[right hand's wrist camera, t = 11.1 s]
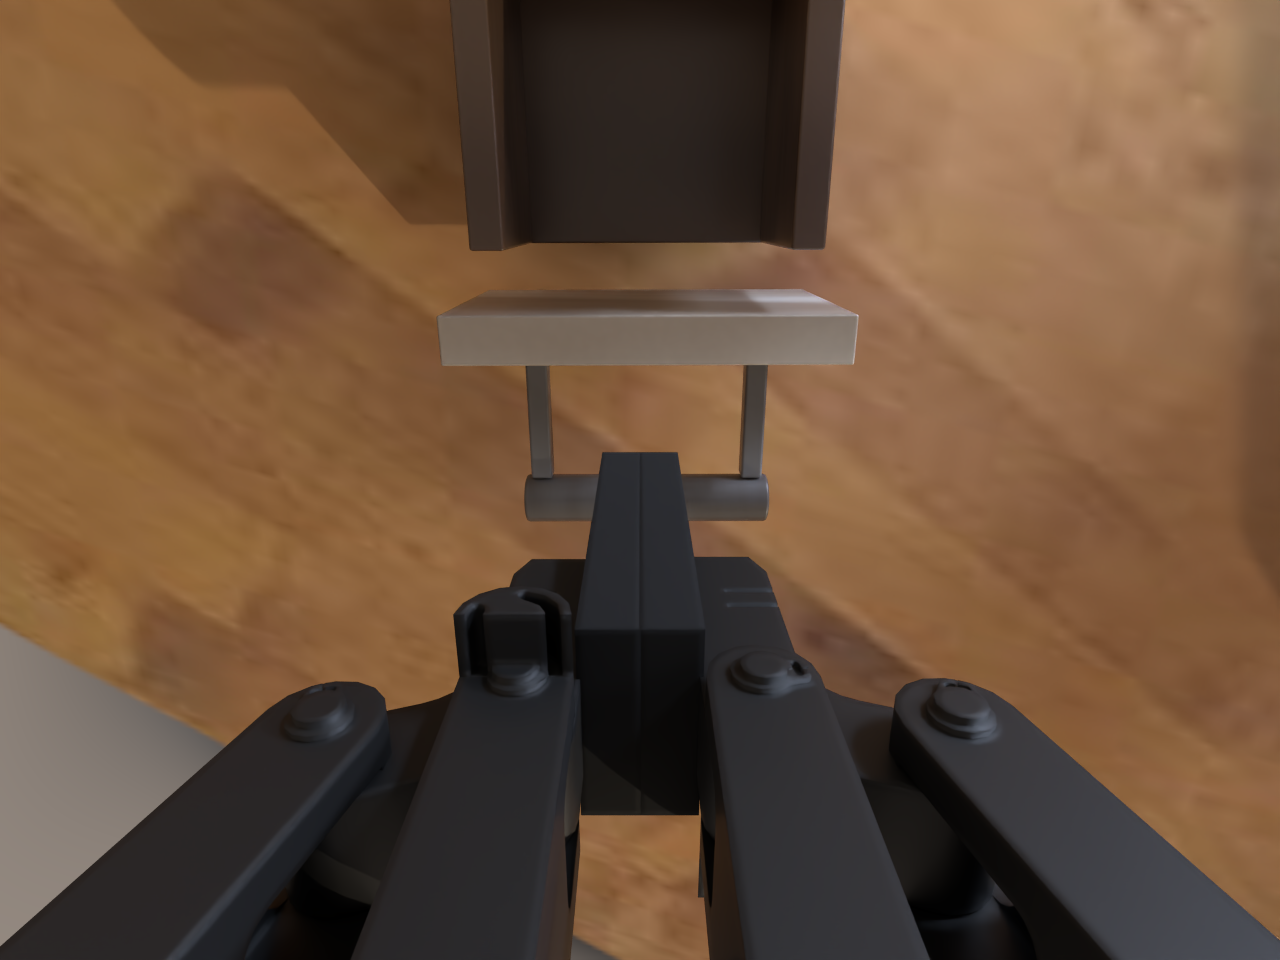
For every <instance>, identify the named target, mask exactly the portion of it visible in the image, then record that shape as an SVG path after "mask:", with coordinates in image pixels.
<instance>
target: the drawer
mask: <svg viewBox="0 0 1280 960" xmlns="http://www.w3.org/2000/svg"><path fill="white" fill-rule="evenodd" d="M450 11H451V23H452V35H453V48H454V60H455V73H456V85H457V98H458V110H459V123H460V135H461V147H462V160H463V172H464V185H465V197H466V210H467V222H468V235H469V247H470V250H472V251H502V250H506V249H510V248H514V247H518V246H521V245H525V244H529V243H718V242H762V243H767V244H771V245H775V246H780V247H784V248H788V249H793V250H822V249H824V248H825V244H826V232H827V220H828V208H829V195H830V183H831V171H832V158H833V146H834V134H835V122H836V109H837V97H838V85H839V73H840V60H841V48H842V36H843V24H844V11H845V0H450ZM437 326H438V336H439V347H440V357H441V364H442V366H526V382H527V400H528V417H529V434H530V451H531V468H532V474H530V475H528V476H527V479H526V482H525V493H524V503H525V513H526V517H527V520H528V521H592V516H593V510H594V503H595V497H596V491H597V484H598V478H599V474H553V473H554V456H553V434H552V413H551V391H550V370H549V366H595V365H744V371H743V393H742V414H741V435H740V456H739V472H740V474H681V478H682V484H683V491H684V497H685V503H686V510H687V516H688V521H764V520H766V518H767V515H768V509H769V486H768V480H767V477H766V475H764V474H761V473H762V456H763V439H764V422H765V405H766V388H767V371H768V365H852V364H854V357H855V347H856V337H857V327H858V315H857V314H855V313H852V312H850V311H848V310H846V309H844V308H842V307H840V306H837V305H835V304H833V303H831V302H829V301H827V300H824V299H822V298H820V297H818V296H816V295H814V294H811V293H809V292H807V291H805V290H803V289H695V290H489V291H487V292H485V293H483V294H481V295H479V296H477V297H475V298H473V299H471V300H469V301H467V302H465V303H463V304H461V305H459V306H457V307H455V308H453V309H451V310H449V311H447V312H445V313H443V314H441V315H439V316H437Z"/></svg>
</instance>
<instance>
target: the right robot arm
mask: <svg viewBox="0 0 1280 960" xmlns="http://www.w3.org/2000/svg"><path fill="white" fill-rule="evenodd" d="M453 617H454V627H455V637H456V646H457V656H458V666H459V676H460V677H459V680H458V682H457V685H456V688H455V690H454V692H453V693H451V694H448V695H446V696H444V697H442V698H439V699H436V700H433V701H429V702H425V703H422V704H418V705H413V706H408V707H403V708H398V709H394V710H389V711H387V710H386V704H385V698H384V697H383V696H382V695H381V694H380V693H379V692H378V691H377V690H376V688H374V687H371V686H368V685H365V684H362V683H359V682H337V681H336V682H330V683H325V684H319V685H314V686H311V687H308V688H306V689H303V690H301V691H298V692H296V693H293V694H291V695H288V696H287V697H285V698H284V699H282V700H281V701H279V702H278V703H276V704H275V705H273V706H272V707H271V708H269V709H268V710H267V711H265V712H264V713H263V714H262V715H261V716H260V717H259V718H258V719H256V720H255V721H254V722H253V723H252V724H251V725H250V726H248V727H247V728H246V729H245V730H244V731H243V732H242V733H241V734H239V735H238V736H237V737H236V738H235V739H234V740H233V741H232V742H230V743H229V744H228V745H227V746H226V747H225V748H224V749H223V750H221V751H220V752H219V753H218V754H217V755H216V756H215V757H214V758H212V759H211V760H210V761H209V762H208V763H207V764H206V765H204V766H203V767H202V768H201V769H200V770H199V771H198V772H197V773H196V774H194V775H193V776H192V777H191V778H190V779H189V780H188V781H186V782H185V783H184V784H183V785H182V786H181V787H180V788H179V789H177V790H176V791H175V792H174V793H173V794H172V795H171V796H170V797H168V798H167V799H166V800H165V801H164V802H163V803H162V804H160V805H159V806H158V807H157V808H156V809H155V810H154V811H153V812H151V813H150V814H149V815H148V816H147V817H146V818H145V819H144V820H142V821H141V822H140V823H139V824H138V825H137V826H136V827H134V828H133V829H132V830H131V831H130V832H129V833H128V834H127V835H125V836H124V837H123V838H122V839H121V840H120V841H119V842H118V843H116V844H115V845H114V846H113V847H112V848H111V849H110V850H109V851H107V852H106V853H105V854H104V855H103V856H102V857H101V858H100V859H98V860H97V861H96V862H95V863H94V864H93V865H92V866H90V867H89V868H88V869H87V870H86V871H85V872H84V873H83V874H81V875H80V876H79V877H78V878H77V879H76V880H75V881H74V882H72V883H71V884H70V885H69V886H68V887H67V888H66V889H65V890H63V891H62V892H61V893H60V894H59V895H58V896H57V897H56V898H54V899H53V900H52V901H51V902H50V903H49V904H48V905H47V906H45V907H44V908H43V909H42V910H41V911H40V912H39V913H37V914H36V915H35V916H34V917H33V918H32V919H31V920H30V921H28V922H27V923H26V924H25V925H24V926H23V927H22V928H20V929H19V930H18V931H17V932H16V933H15V934H14V935H13V936H11V937H10V938H9V939H8V940H7V941H6V942H5V943H4V944H3V945H1V946H0V960H570V957H571V946H572V935H573V924H574V913H575V902H576V891H577V880H578V869H579V858H580V832H579V813H580V803H581V815H699V800H700V809H701V832H700V859H699V885H698V897H704V901H705V912H706V923H707V934H708V945H709V956H710V960H1280V940H1279V939H1277V938H1276V937H1275V936H1274V935H1273V934H1272V933H1271V932H1269V931H1268V930H1267V929H1266V928H1265V927H1264V926H1263V925H1262V924H1260V923H1259V922H1258V921H1257V920H1256V919H1255V918H1254V917H1252V916H1251V915H1250V914H1249V913H1248V912H1247V911H1246V910H1244V909H1243V908H1242V907H1241V906H1240V905H1239V904H1238V903H1236V902H1235V901H1234V900H1233V899H1232V898H1231V897H1230V896H1229V895H1227V894H1226V893H1225V892H1224V891H1223V890H1222V889H1221V888H1219V887H1218V886H1217V885H1216V884H1215V883H1214V882H1213V881H1211V880H1210V879H1209V878H1208V877H1207V876H1206V875H1205V874H1203V873H1202V872H1201V871H1200V870H1199V869H1198V868H1197V867H1196V866H1194V865H1193V864H1192V863H1191V862H1190V861H1189V860H1188V859H1186V858H1185V857H1184V856H1183V855H1182V854H1181V853H1180V852H1178V851H1177V850H1176V849H1175V848H1174V847H1173V846H1172V845H1170V844H1169V843H1168V842H1167V841H1166V840H1165V839H1164V838H1163V837H1161V836H1160V835H1159V834H1158V833H1157V832H1156V831H1155V830H1153V829H1152V828H1151V827H1150V826H1149V825H1148V824H1147V823H1145V822H1144V821H1143V820H1142V819H1141V818H1140V817H1139V816H1137V815H1136V814H1135V813H1134V812H1133V811H1132V810H1131V809H1130V808H1128V807H1127V806H1126V805H1125V804H1124V803H1123V802H1122V801H1120V800H1119V799H1118V798H1117V797H1116V796H1115V795H1114V794H1112V793H1111V792H1110V791H1109V790H1108V789H1107V788H1106V787H1104V786H1103V785H1102V784H1101V783H1100V782H1099V781H1098V780H1097V779H1095V778H1094V777H1093V776H1092V775H1091V774H1090V773H1089V772H1087V771H1086V770H1085V769H1084V768H1083V767H1082V766H1081V765H1079V764H1078V763H1077V762H1076V761H1075V760H1074V759H1073V758H1072V757H1070V756H1069V755H1068V754H1067V753H1066V752H1065V751H1064V750H1062V749H1061V748H1060V747H1059V746H1058V745H1057V744H1056V743H1054V742H1053V741H1052V740H1051V739H1050V738H1049V737H1048V736H1046V735H1045V734H1044V733H1043V732H1042V731H1041V730H1040V729H1039V728H1037V727H1036V726H1035V725H1034V724H1033V723H1032V722H1031V721H1029V720H1028V719H1027V718H1026V717H1025V716H1024V715H1023V714H1021V713H1020V712H1019V711H1018V710H1017V709H1016V708H1015V707H1013V706H1012V705H1011V704H1009V703H1008V702H1006V701H1005V700H1003V699H1002V698H1000V697H999V696H997V695H996V694H994V693H993V692H990V691H988V690H985V689H983V688H981V687H978V686H976V685H973V684H971V683H967V682H963V681H959V680H958V681H957V680H953V679H946V678H934V679H921V680H918V681H915V682H912V683H909V684H906V685H905V686H904V687H903V688H902V689H901V690H900V691H899V692H898V693H897V694H896V697H895V704H894V708H892V707H887V706H882V705H877V704H873V703H868V702H863V701H858V700H855V699H851V698H848V697H844V696H841V695H839V694H836V693H834V692H832V691H830V690H827V689H825V687H824V684H823V681H822V679H821V676H820V675H819V673H818V672H817V671H816V669H815V668H814V666H813V665H812V664H811V663H810V662H808V661H807V660H805V659H804V658H802V657H801V656H799V655H798V654H796V653H795V652H794V649H793V646H792V643H791V641H790V638H789V635H788V632H787V629H786V626H785V624H784V621H783V618H782V615H781V612H780V609H779V607H777V601H776V598H775V595H774V592H772V587H771V584H770V581H769V578H768V575H767V573H766V571H765V570H763V569H762V568H761V567H760V566H759V565H757V564H756V563H755V562H754V561H752V560H751V559H750V558H749V557H694V554H693V548H692V541H691V535H690V529H689V522H688V516H687V510H686V503H685V497H684V491H683V484H682V478H681V472H680V465H679V459H678V453H677V452H603V453H602V459H601V465H600V472H599V478H598V484H597V491H596V497H595V503H594V510H593V516H592V522H591V529H590V535H589V541H588V548H587V554H586V559H532V560H530V561H529V562H528V563H527V564H526V565H524V566H523V567H522V568H521V569H520V570H518V571H517V572H516V573H515V574H514V576H513V578H512V581H511V584H510V587H506V588H498V589H495V590H491V591H488V592H485V593H481V594H478V595H477V596H475V597H473V598H471V599H470V600H468V601H466V602H464V603H463V604H462V605H461V606H460V607H459V608H458V610H457V611H456V612H455V613H454V614H453Z"/></svg>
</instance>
